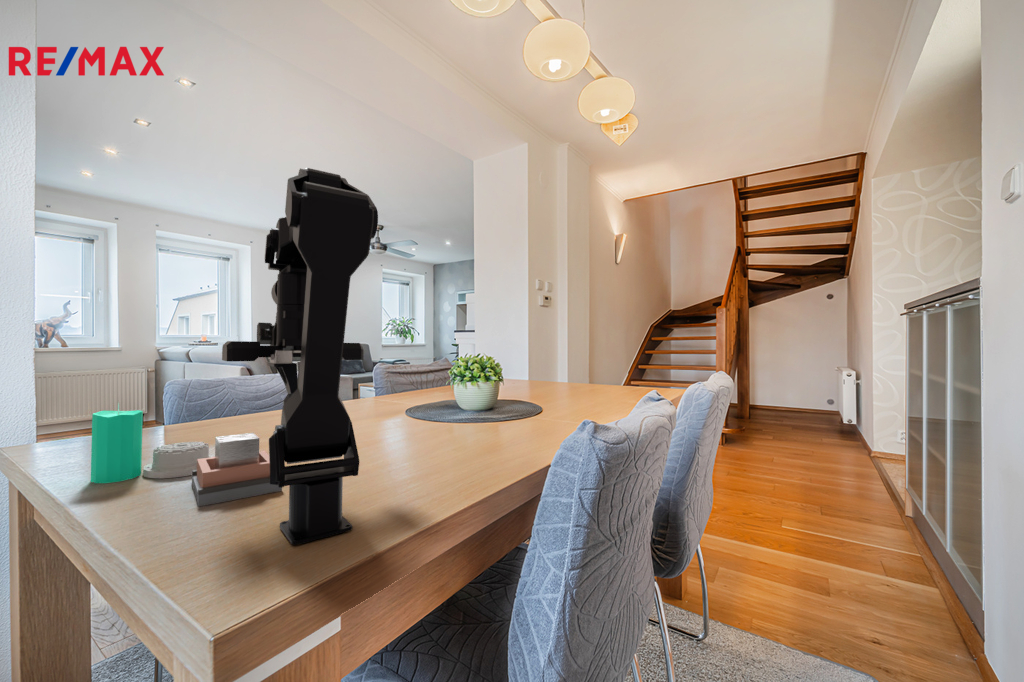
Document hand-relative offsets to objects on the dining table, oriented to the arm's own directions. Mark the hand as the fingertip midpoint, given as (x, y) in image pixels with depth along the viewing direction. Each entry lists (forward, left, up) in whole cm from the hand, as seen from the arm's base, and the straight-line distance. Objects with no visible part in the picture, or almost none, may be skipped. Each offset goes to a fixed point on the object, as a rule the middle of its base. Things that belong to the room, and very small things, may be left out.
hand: (296, 407), depth 65 cm
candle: (+22, +21, -12) cm, 33 cm away
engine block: (+5, +7, -10) cm, 13 cm away
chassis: (+5, +7, -12) cm, 15 cm away
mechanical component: (+21, +13, -12) cm, 28 cm away
